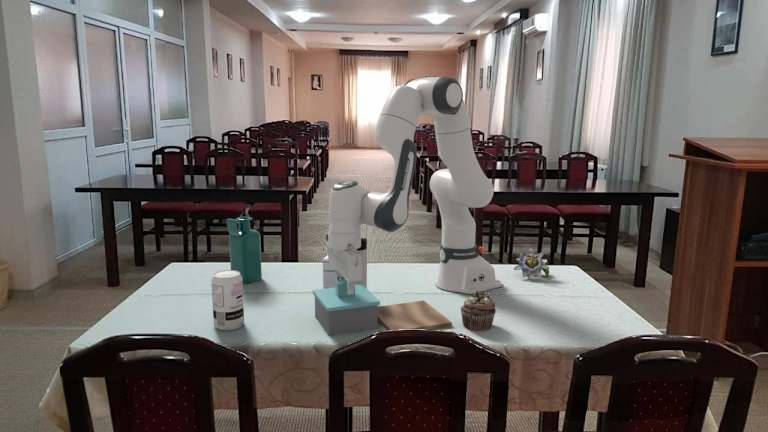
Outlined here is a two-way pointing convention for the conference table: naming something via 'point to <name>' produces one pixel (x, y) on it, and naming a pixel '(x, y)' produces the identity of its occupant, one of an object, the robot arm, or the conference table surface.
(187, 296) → the conference table surface
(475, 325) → the cupcake
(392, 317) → the walnut board
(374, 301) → the lid
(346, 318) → the storage box
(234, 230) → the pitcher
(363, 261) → the travel mug
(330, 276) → the syrup box
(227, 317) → the supplement can
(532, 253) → the passion flower
